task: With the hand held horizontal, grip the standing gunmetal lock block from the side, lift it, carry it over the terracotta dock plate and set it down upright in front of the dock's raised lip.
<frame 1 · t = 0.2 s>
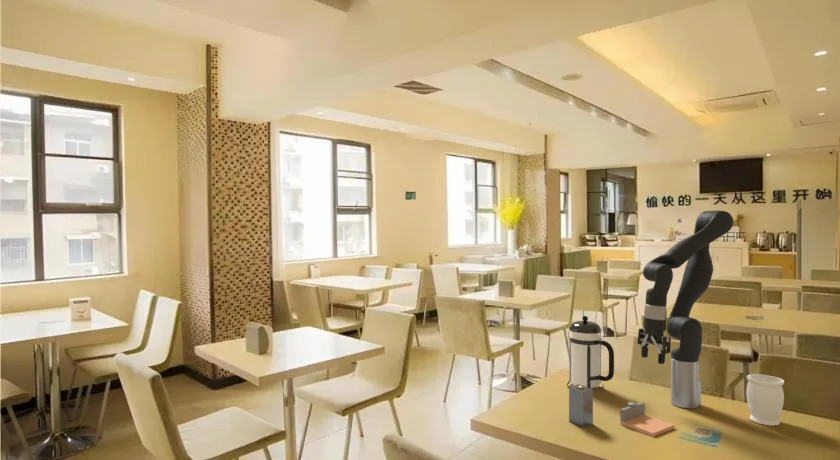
hand: (652, 360, 185), 18 cm above the table, tool pointing down, fingers open, 8 cm apart
lock block: (580, 422, 171), on the table
dock: (647, 426, 168), on the table
coffee press: (588, 388, 207), on the table
jar: (764, 422, 172), on the table
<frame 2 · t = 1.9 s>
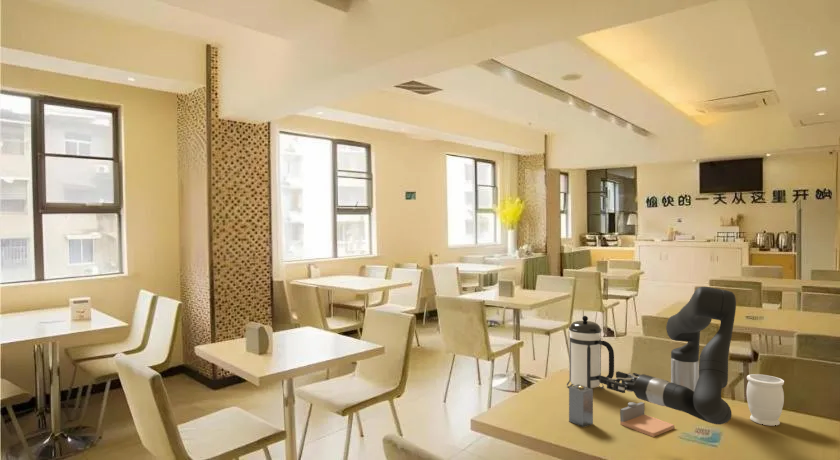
hand: (608, 376, 162), 19 cm above the table, tool horizontal, fingers open, 8 cm apart
nothing on the table moved.
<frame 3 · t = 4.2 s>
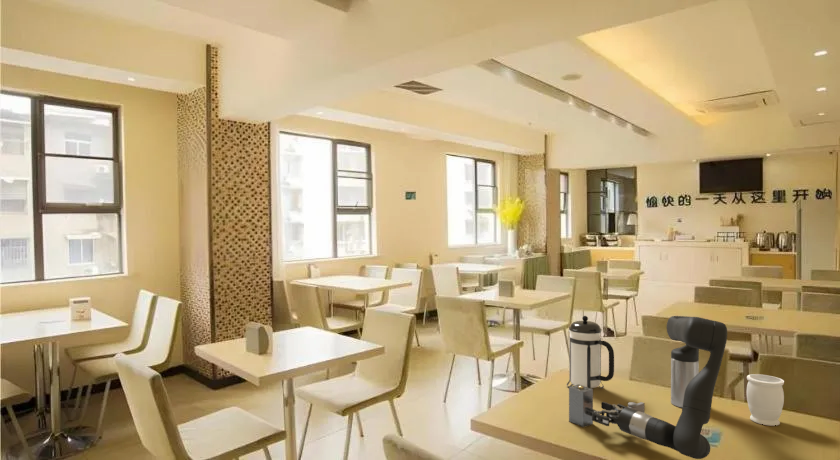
hand: (593, 407, 167), 7 cm above the table, tool horizontal, fingers open, 8 cm apart
nothing on the table moved.
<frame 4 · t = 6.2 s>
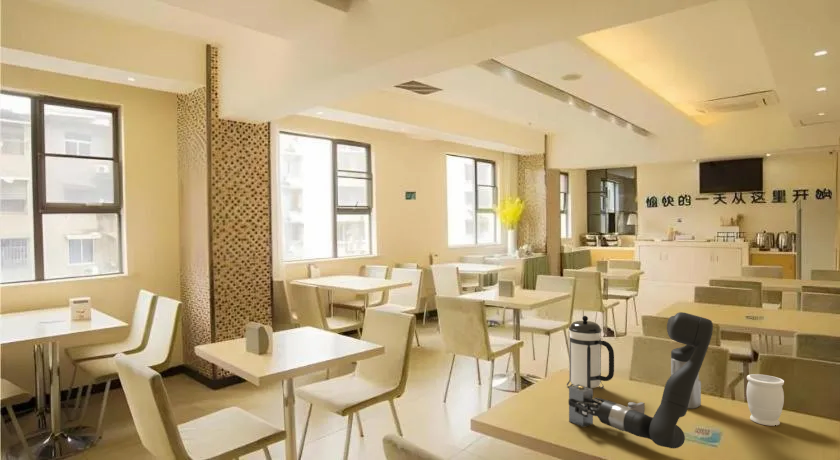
hand: (574, 400, 173), 7 cm above the table, tool horizontal, fingers closed on lock block, 5 cm apart
lock block: (580, 422, 171), on the table, touching gripper
everything else where it was.
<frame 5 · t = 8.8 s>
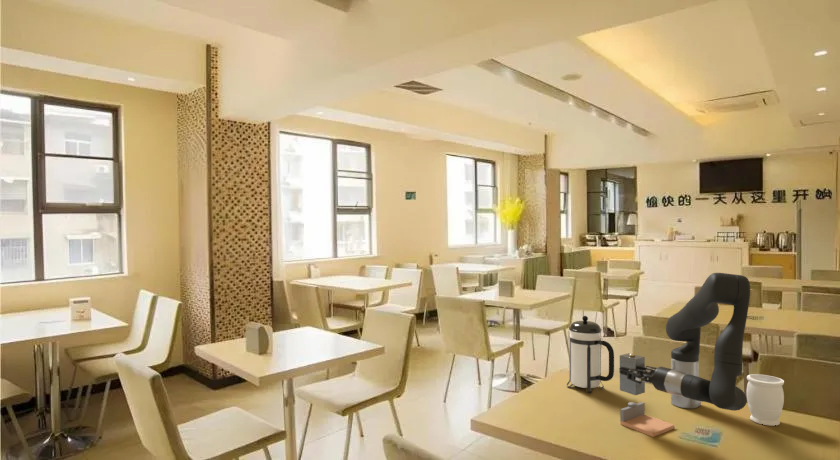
hand: (625, 368, 171), 19 cm above the table, tool horizontal, fingers closed on lock block, 5 cm apart
lock block: (632, 391, 169), point 12 cm above the table, touching gripper
everything else where it was.
when the fingers open (9 cm above the table, at t = 11.4 s): lock block drops 1 cm, resting on dock.
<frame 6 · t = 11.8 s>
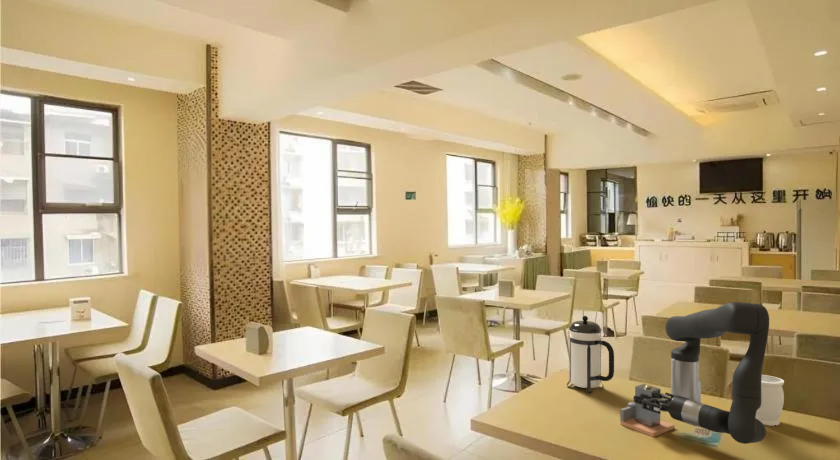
hand: (641, 396, 170), 10 cm above the table, tool horizontal, fingers open, 8 cm apart
lock block: (647, 422, 168), point 1 cm above the table, touching dock
everything else where it was.
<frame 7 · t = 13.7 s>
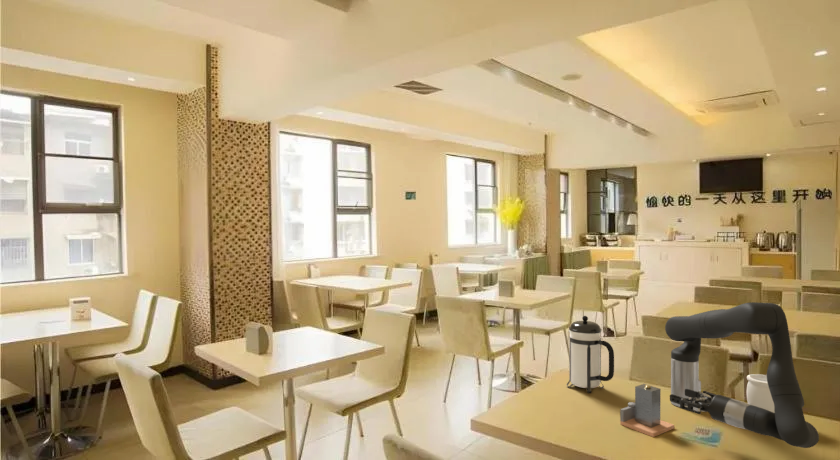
hand: (677, 394, 159), 14 cm above the table, tool horizontal, fingers open, 8 cm apart
nothing on the table moved.
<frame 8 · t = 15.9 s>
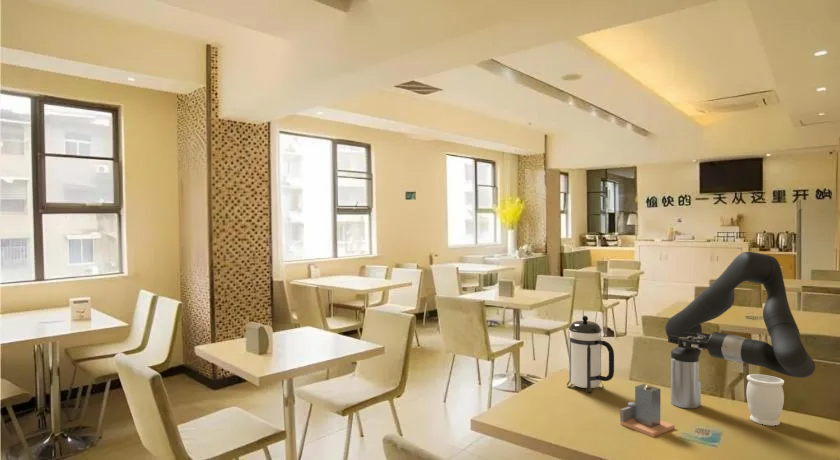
hand: (676, 336, 160), 32 cm above the table, tool horizontal, fingers open, 8 cm apart
nothing on the table moved.
at the end: lock block inside the target area on the dock (0.2 cm from its centre), point 1.2 cm above the dock's base; lock block tilted 0°; the gripper is holding nothing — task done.
